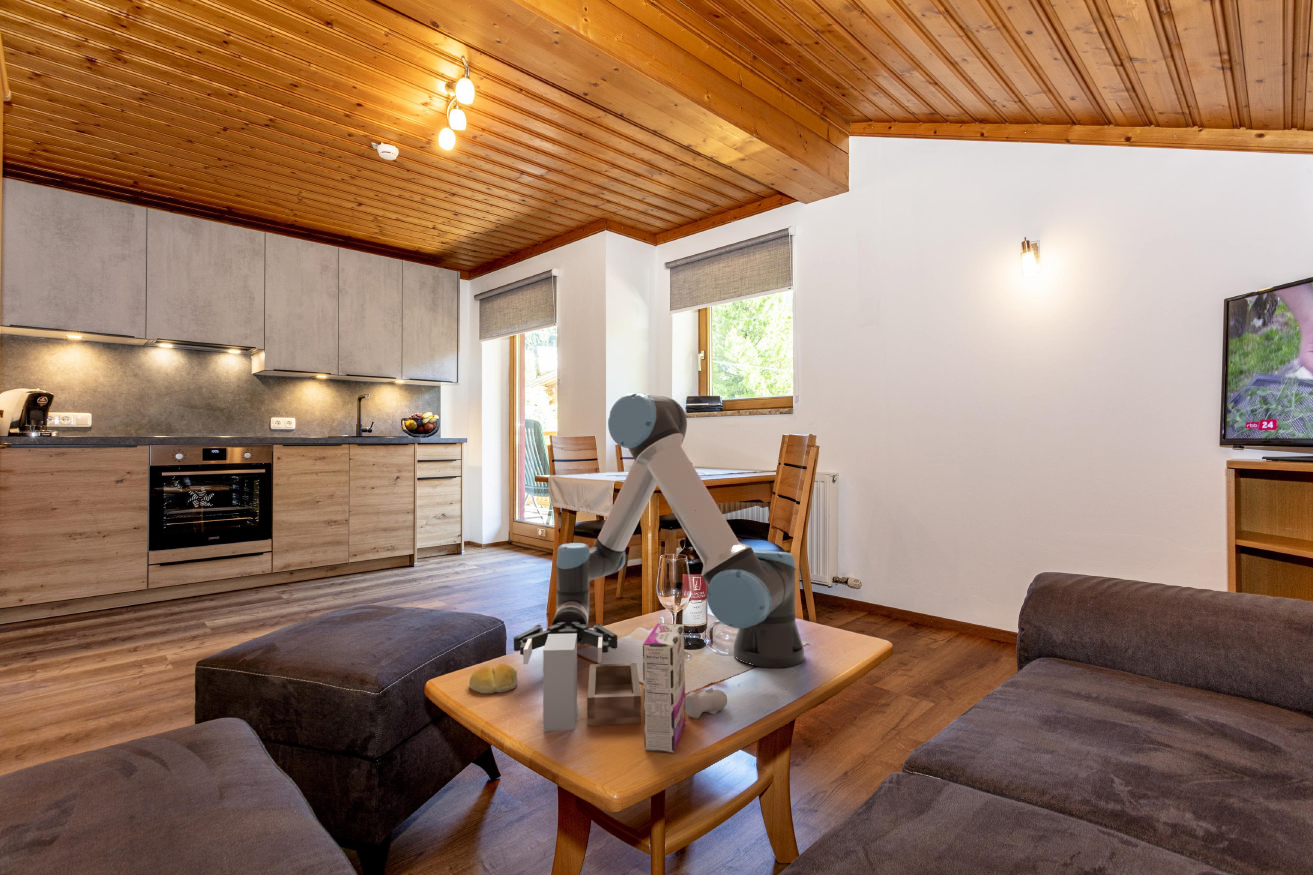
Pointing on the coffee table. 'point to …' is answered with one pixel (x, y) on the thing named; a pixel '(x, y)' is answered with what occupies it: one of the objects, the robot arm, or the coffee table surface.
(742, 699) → the coffee table surface
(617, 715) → the open brown box
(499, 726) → the coffee table surface
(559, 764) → the coffee table surface
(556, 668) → the grey box
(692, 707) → the pale two-lobed sculpture
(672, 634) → the candy bar box
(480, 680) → the bread roll
